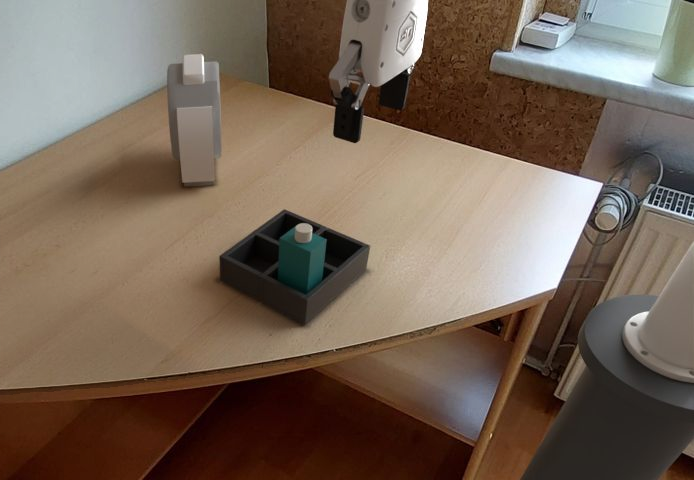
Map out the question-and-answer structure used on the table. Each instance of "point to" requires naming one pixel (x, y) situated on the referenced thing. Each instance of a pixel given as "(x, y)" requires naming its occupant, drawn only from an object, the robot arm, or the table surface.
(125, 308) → the table surface
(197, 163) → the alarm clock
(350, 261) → the tray
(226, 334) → the table surface
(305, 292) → the detergent bottle
